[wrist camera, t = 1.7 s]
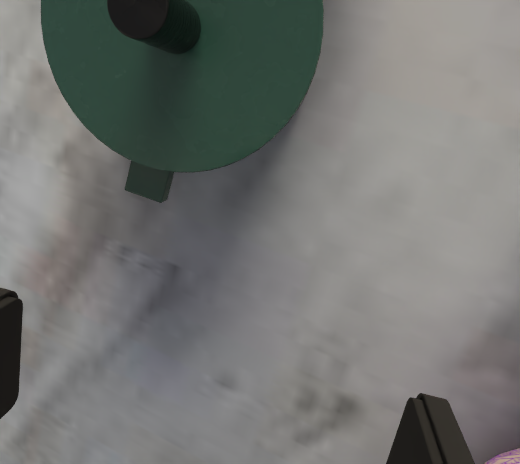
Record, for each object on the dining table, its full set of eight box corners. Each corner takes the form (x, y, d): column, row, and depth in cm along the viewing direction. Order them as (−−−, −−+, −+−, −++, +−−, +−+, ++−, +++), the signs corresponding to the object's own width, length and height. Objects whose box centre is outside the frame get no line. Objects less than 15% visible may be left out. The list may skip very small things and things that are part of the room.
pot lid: (32, 122, 26) (-51, 125, 20) (80, -173, 22) (-8, -275, 16) (270, 205, 26) (255, 232, 20) (368, -83, 21) (384, -156, 15)
